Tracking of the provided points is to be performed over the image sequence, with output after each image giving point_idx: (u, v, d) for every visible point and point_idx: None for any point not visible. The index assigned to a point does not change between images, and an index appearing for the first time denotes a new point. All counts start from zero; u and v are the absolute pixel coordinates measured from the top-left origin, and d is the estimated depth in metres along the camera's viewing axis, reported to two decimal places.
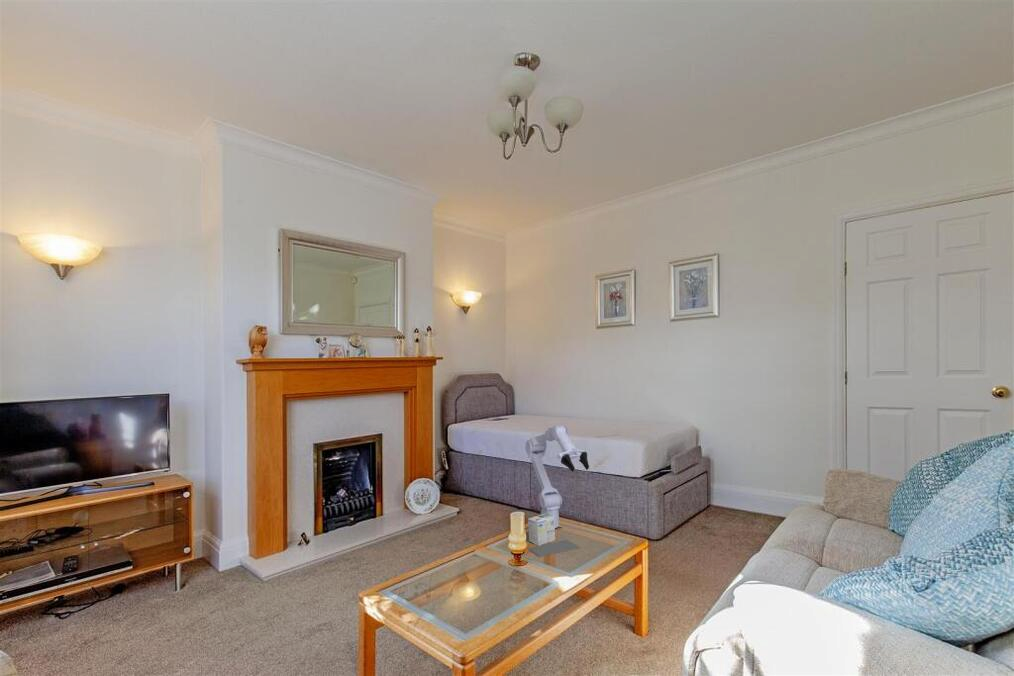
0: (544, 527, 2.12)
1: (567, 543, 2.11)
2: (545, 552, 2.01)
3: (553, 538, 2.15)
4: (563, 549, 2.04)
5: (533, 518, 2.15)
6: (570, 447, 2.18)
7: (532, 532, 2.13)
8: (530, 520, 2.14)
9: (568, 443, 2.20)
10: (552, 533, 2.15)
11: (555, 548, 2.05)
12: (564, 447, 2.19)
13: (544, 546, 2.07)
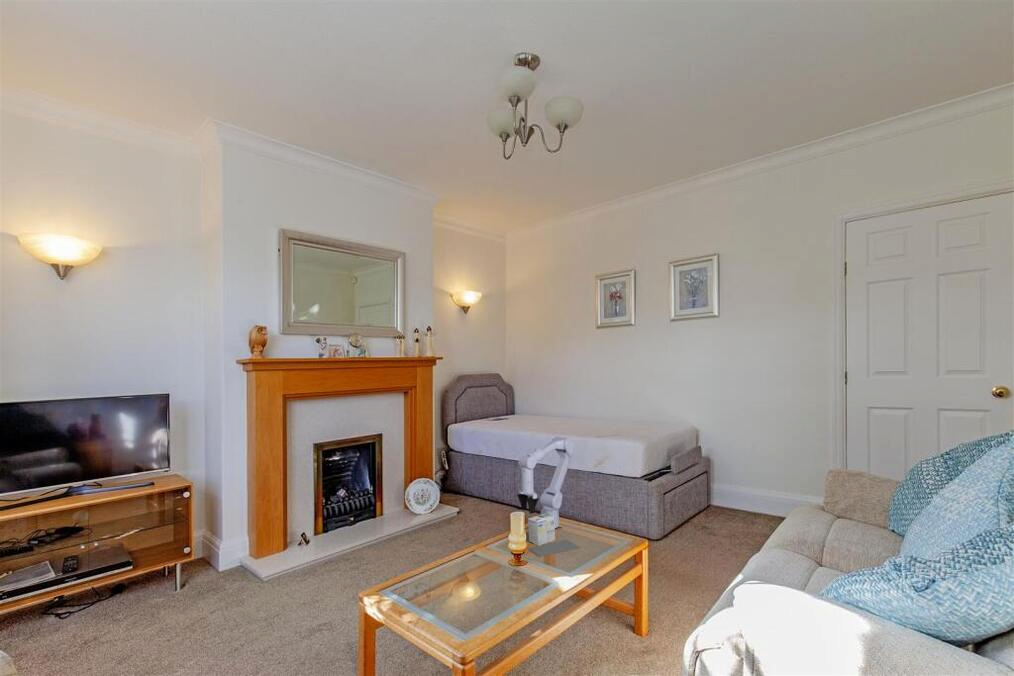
0: (544, 527, 2.12)
1: (567, 543, 2.11)
2: (545, 552, 2.01)
3: (553, 538, 2.15)
4: (563, 549, 2.04)
5: (533, 518, 2.15)
6: (521, 488, 2.27)
7: (532, 532, 2.13)
8: (530, 520, 2.14)
9: (521, 483, 2.27)
10: (552, 533, 2.15)
11: (555, 548, 2.05)
12: None
13: (544, 546, 2.07)
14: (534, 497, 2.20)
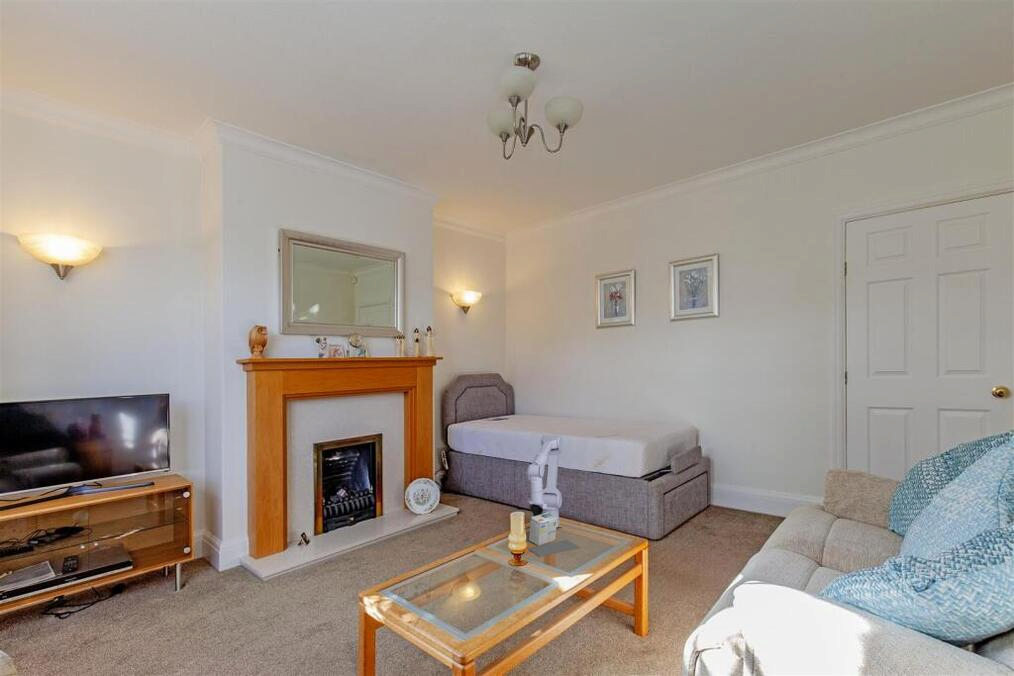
0: (546, 528, 2.11)
1: (567, 543, 2.11)
2: (545, 552, 2.01)
3: (553, 538, 2.15)
4: (563, 549, 2.04)
5: (536, 517, 2.13)
6: (530, 498, 2.19)
7: (533, 531, 2.12)
8: (533, 519, 2.12)
9: (530, 493, 2.19)
10: (553, 533, 2.15)
11: (555, 548, 2.05)
12: None
13: (544, 546, 2.07)
14: (544, 507, 2.13)
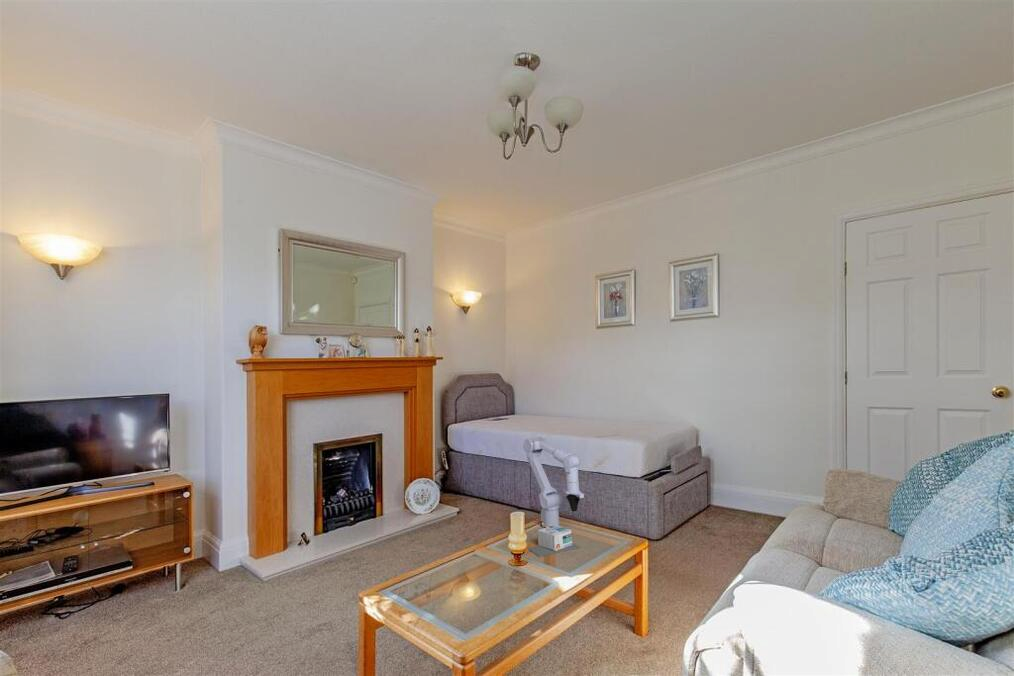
0: None
1: None
2: (545, 552, 2.01)
3: None
4: (563, 549, 2.04)
5: (557, 539, 2.03)
6: (567, 488, 2.25)
7: (545, 539, 2.06)
8: (553, 539, 2.02)
9: None
10: None
11: None
12: None
13: None
14: (581, 497, 2.18)
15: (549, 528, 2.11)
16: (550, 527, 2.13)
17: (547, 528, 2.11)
